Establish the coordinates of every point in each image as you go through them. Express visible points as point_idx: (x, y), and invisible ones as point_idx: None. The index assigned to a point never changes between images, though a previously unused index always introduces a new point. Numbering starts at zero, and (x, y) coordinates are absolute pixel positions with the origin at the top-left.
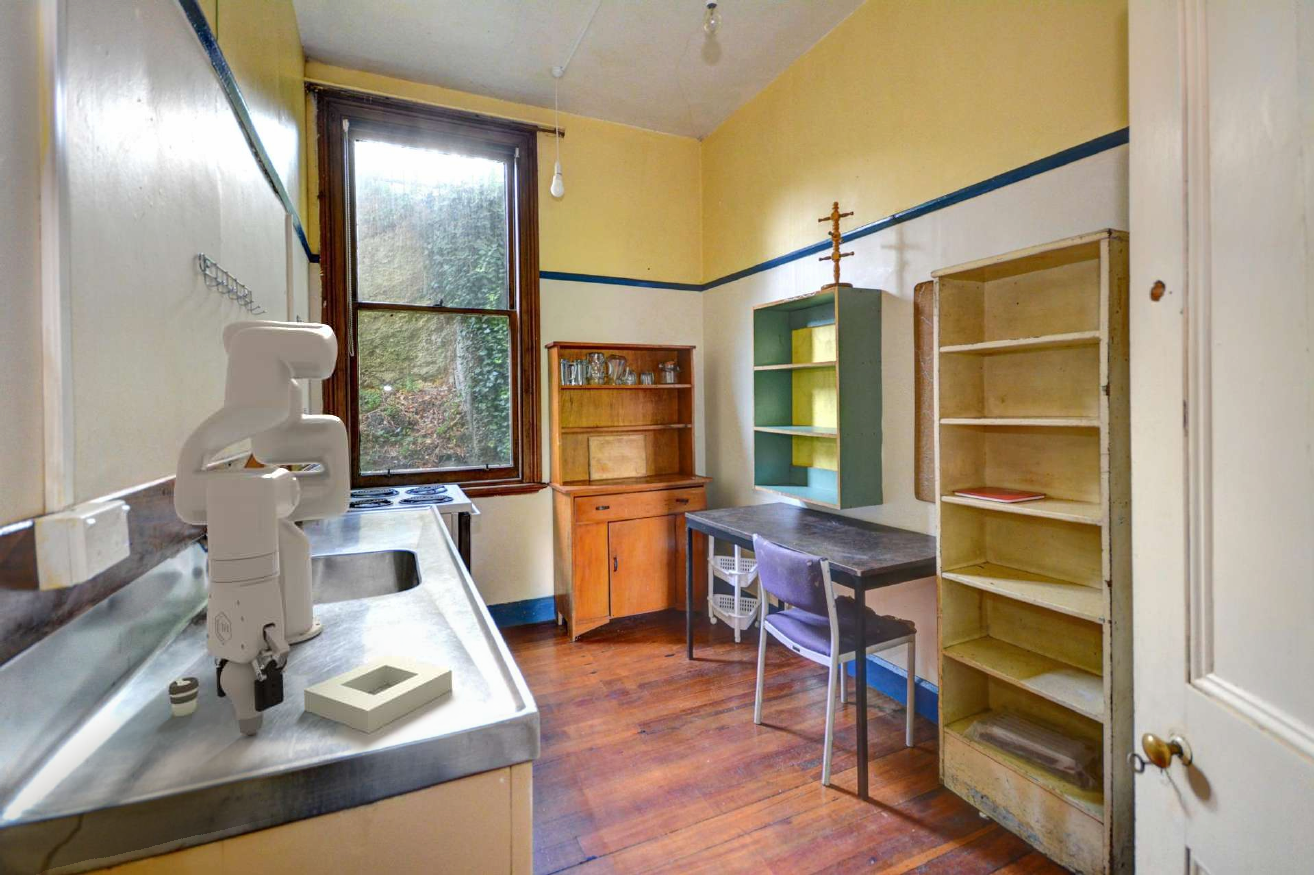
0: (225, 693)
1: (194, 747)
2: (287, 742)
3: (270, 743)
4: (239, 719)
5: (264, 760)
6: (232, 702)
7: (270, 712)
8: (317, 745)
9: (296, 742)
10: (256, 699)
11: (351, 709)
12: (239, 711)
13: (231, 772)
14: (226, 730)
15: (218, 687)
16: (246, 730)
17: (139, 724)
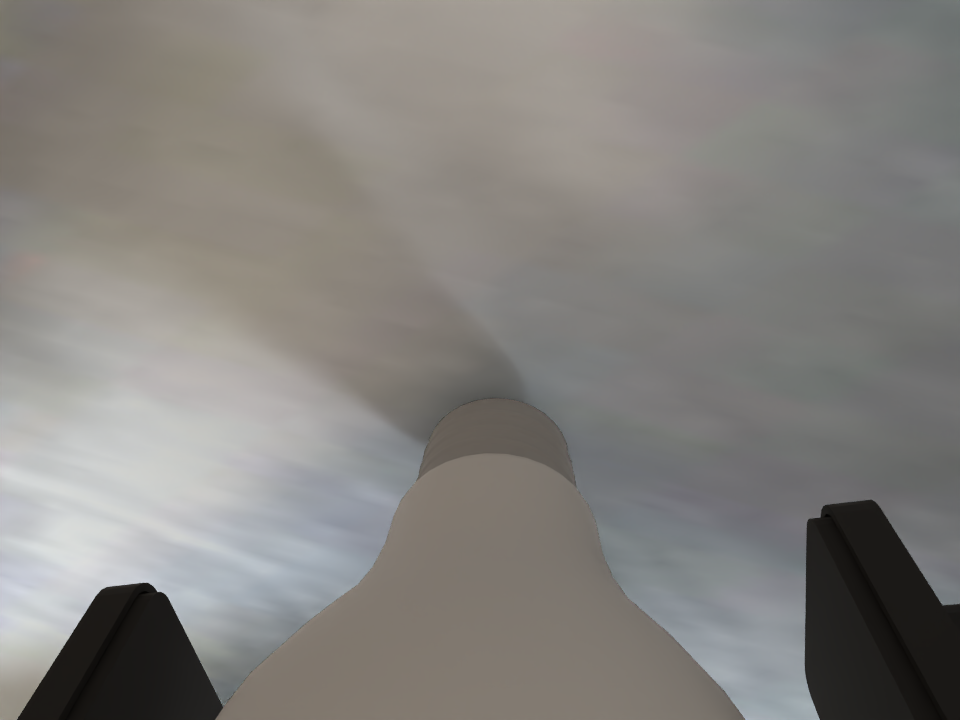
0: (815, 558)
1: (648, 126)
2: (191, 512)
3: (256, 456)
4: (477, 454)
5: (38, 367)
6: (508, 530)
7: (722, 588)
8: (29, 582)
9: (152, 538)
10: (50, 681)
11: None
12: (437, 500)
13: (3, 190)
14: (722, 354)
15: (877, 577)
16: (438, 428)
17: None
